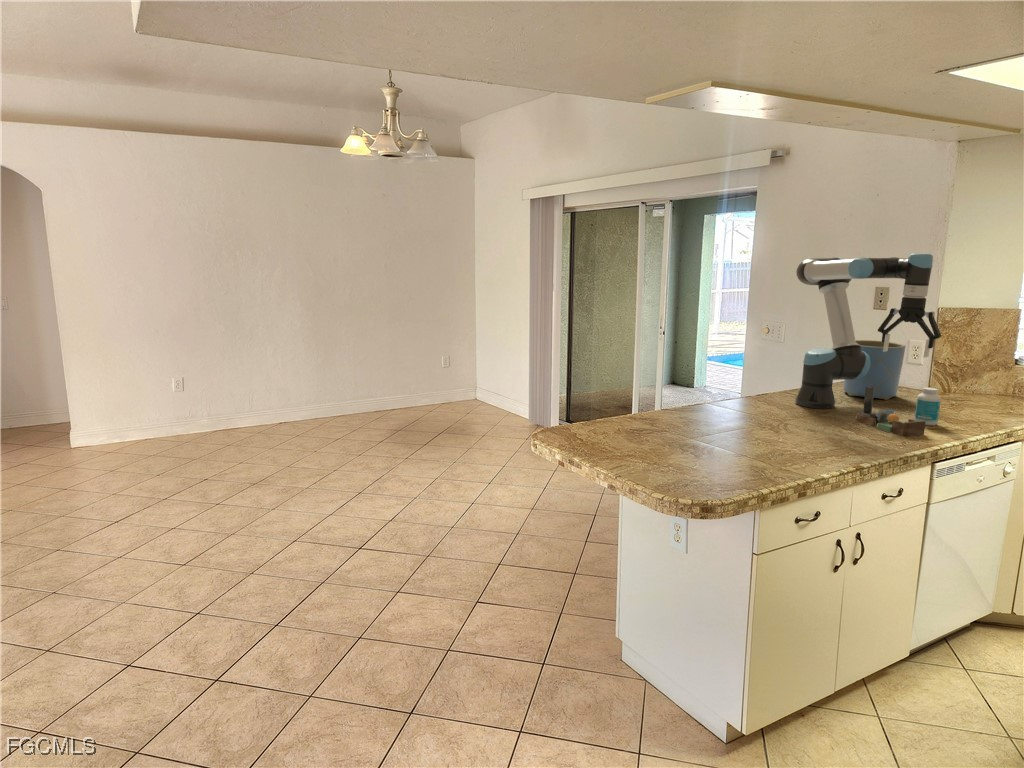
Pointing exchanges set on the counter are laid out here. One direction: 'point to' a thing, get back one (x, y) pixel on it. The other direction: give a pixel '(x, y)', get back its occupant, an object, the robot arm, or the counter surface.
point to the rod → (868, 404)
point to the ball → (893, 418)
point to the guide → (867, 419)
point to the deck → (885, 426)
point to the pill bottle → (928, 406)
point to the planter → (879, 370)
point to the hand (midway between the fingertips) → (905, 354)
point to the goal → (908, 427)
